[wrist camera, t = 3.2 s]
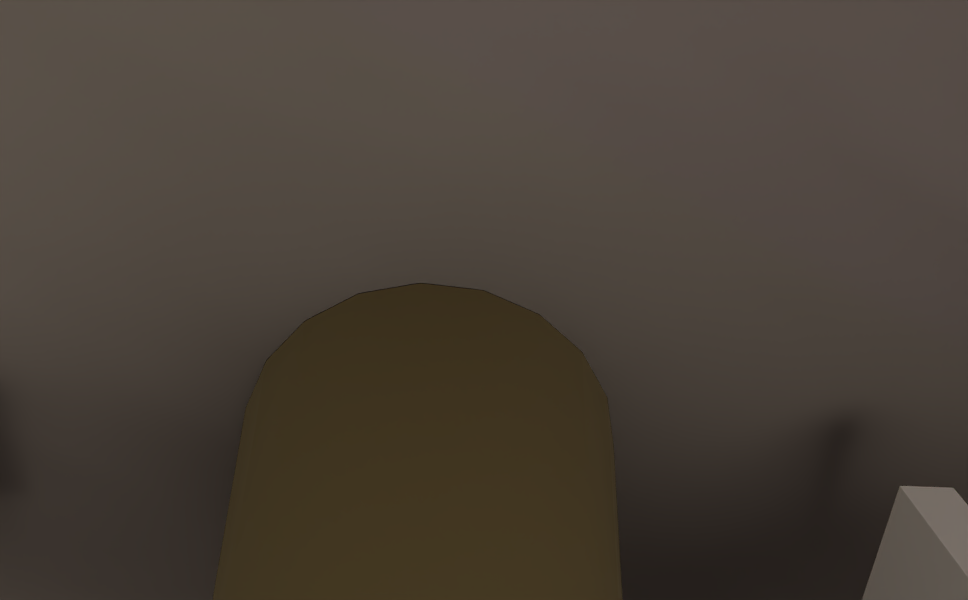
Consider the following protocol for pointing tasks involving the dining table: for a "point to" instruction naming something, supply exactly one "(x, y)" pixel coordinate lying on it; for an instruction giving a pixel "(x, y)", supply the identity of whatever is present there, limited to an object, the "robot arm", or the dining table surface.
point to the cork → (424, 459)
